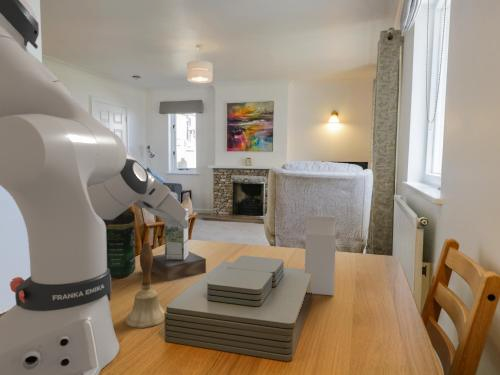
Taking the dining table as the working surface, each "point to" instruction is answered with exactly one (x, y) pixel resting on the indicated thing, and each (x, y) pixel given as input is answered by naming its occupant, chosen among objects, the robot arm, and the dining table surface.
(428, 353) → the dining table surface
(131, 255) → the coffee jar
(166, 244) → the syrup box
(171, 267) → the podium
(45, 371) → the robot arm
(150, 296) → the hand bell
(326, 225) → the milk carton
